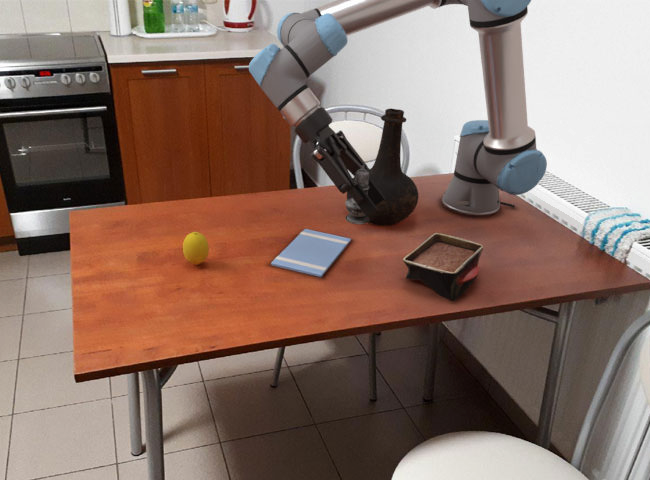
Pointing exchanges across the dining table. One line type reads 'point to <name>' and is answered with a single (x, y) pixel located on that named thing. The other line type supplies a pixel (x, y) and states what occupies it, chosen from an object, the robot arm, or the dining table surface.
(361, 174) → the salt shaker
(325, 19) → the robot arm
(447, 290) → the baking dish
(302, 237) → the cloth
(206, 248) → the lemon
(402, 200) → the glass bottle
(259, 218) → the dining table surface
